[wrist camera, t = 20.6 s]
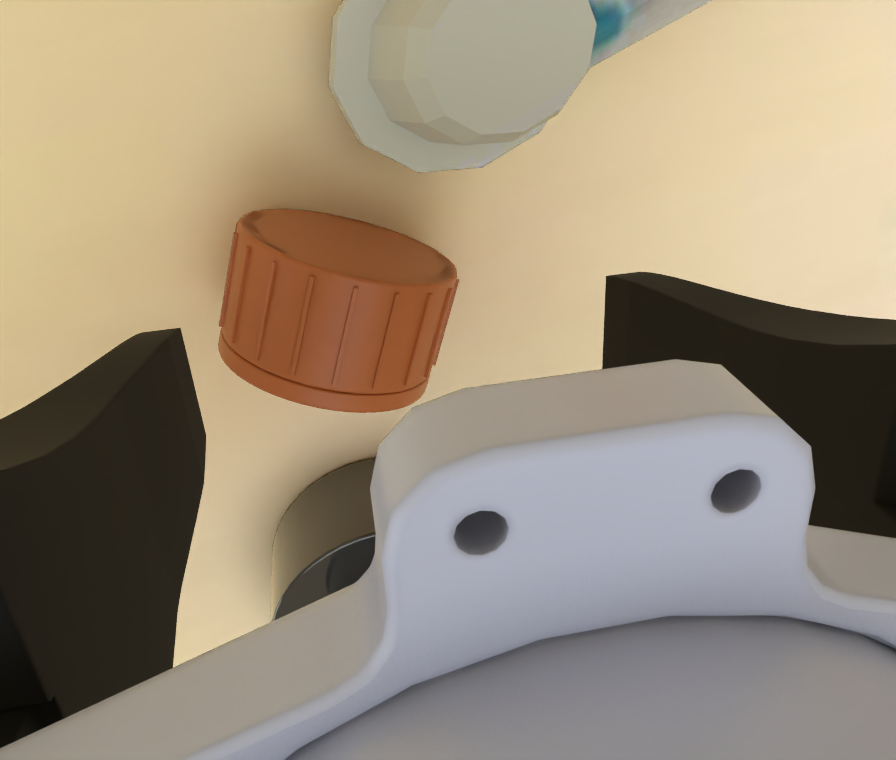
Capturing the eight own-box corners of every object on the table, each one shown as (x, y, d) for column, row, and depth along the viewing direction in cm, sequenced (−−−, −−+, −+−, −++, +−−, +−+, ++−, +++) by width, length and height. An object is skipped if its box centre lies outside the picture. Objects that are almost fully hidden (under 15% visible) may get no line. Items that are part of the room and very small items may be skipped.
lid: (503, 279, 21) (468, 393, 22) (355, 209, 24) (332, 312, 25) (346, 293, 16) (315, 433, 18) (188, 204, 19) (171, 329, 21)
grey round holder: (229, 586, 28) (212, 759, 22) (354, 417, 26) (375, 557, 19) (411, 658, 31) (442, 827, 25) (537, 514, 29) (604, 660, 23)
